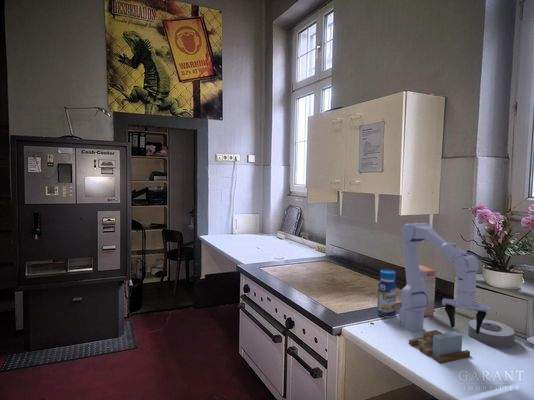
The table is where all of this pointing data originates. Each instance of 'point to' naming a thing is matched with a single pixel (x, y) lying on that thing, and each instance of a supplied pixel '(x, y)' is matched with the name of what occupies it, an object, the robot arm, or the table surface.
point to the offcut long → (423, 342)
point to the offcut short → (430, 335)
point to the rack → (443, 358)
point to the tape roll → (492, 333)
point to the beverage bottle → (387, 294)
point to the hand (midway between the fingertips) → (465, 329)
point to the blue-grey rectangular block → (447, 343)
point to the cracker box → (428, 287)
